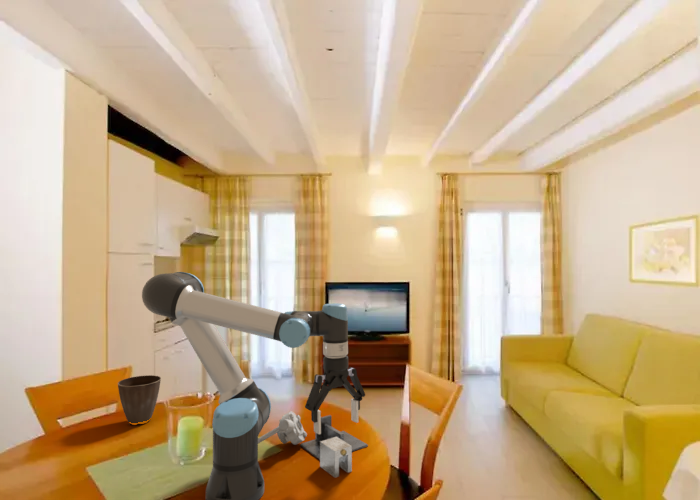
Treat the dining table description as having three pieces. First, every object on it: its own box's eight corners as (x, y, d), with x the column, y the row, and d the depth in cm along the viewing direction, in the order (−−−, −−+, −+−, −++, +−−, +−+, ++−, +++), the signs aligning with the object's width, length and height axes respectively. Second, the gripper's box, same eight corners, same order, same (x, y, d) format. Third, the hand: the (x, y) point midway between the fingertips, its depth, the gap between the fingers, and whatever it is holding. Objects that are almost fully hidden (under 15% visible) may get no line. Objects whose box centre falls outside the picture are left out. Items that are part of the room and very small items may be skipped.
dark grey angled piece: (322, 461, 128) (322, 437, 128) (299, 445, 139) (300, 422, 139) (367, 446, 139) (367, 423, 139) (343, 432, 150) (343, 411, 150)
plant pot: (107, 427, 155) (108, 384, 156) (138, 413, 169) (139, 373, 170) (139, 431, 151) (140, 387, 151) (169, 417, 165) (169, 376, 165)
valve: (310, 439, 142) (294, 437, 129) (265, 466, 142) (244, 466, 129) (299, 411, 147) (282, 406, 134) (256, 436, 147) (235, 433, 134)
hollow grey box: (335, 478, 118) (335, 452, 118) (320, 466, 125) (320, 441, 125) (352, 472, 122) (352, 446, 122) (336, 460, 129) (336, 436, 129)
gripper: (305, 364, 114) (306, 442, 114) (375, 351, 129) (376, 420, 128) (292, 359, 120) (293, 433, 120) (360, 347, 135) (362, 413, 134)
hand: (336, 426), depth 124 cm, fingers open, 13 cm apart
